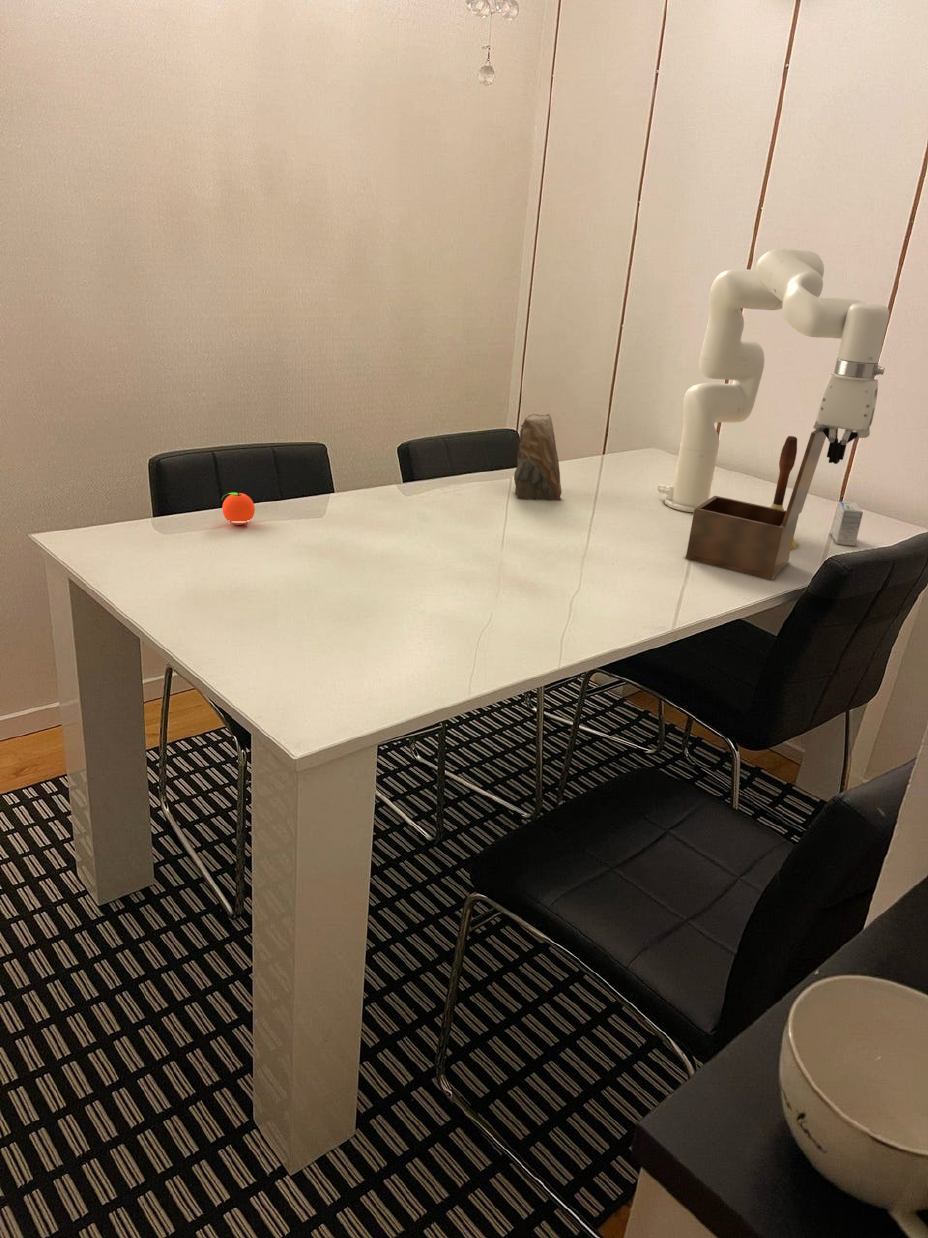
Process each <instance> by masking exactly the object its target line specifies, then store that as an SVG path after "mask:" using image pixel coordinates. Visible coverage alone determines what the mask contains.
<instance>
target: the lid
mask: <svg viewBox="0 0 928 1238" xmlns="http://www.w3.org/2000/svg"><path fill="white" fill-rule="evenodd" d="M827 427H829V426H827ZM826 438H827V437H826V435H825V434H824V433H823V432H822V429H821V428H818V429H814V430H813V431H811V433H810V435H809V439H808V441H807V444H806V448H805V452H804V455H803V457H802V460H801V464H800V467H799V470H798V472H797V476H796V479H795V483H794V485H793V488H792V491H791V495H790V497H789V501H788V505H787V508H786V510H785V511H786V514H785V517H784V520H783V523H782V526H784V527H786V526H787V525H788V524H789V523H790V522H791V521H792V520H793V519H794V518H795V517H797V516H798V515H799V516H800V514H801V513H802V512H803V508H804V505H805V503H806V500H807V496H808V493H809V491H810V487H811V485H812V481H813V478H814V475H815V472H816V469H817V466H818V463H819V459H820V456H821V454H822V451H823V448H824V445H825V441H826ZM799 516H798V517H799Z"/></svg>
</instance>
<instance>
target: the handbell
mask: <svg viewBox="0 0 928 1238" xmlns="http://www.w3.org/2000/svg"><path fill="white" fill-rule="evenodd" d="M797 453H798V437H796V436H793V435H788V436H787V437H786V439H785V441H784V444H783V446H782V449H781V451H780V456H779V461H778V462H779V463H778V466H779V473H778V478H777V483H776V488H775V493H774V498H773V503H772V504H771V506H770V508H775V509H779V510H784V511H785V508H784V500H785V495H786V491H787V487H788V482H789V477H790V475H791V472H792V471H793V468H794V466H795V463H796V458H797ZM796 548H797V541H796V540H795V539H794V538H793V543H792V547H791V550H792V549H793V550H794V549H796Z"/></svg>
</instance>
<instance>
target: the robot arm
mask: <svg viewBox="0 0 928 1238" xmlns="http://www.w3.org/2000/svg"><path fill="white" fill-rule="evenodd" d="M824 273H825V264H824V262H823V259H822V258H821V256H820V255H818V254H817V253H816V252H814V251H811V250H801V249H789V248H788V249H787V248H774V249H771V250H769V251H767V252H765V253H763V255H761V256H760V257H759V259H758V260H757V262H756V265H755V269H748V268H747V269H746V268H735V269H728V270H724V271H722V272H720V273H719V274H718V275H717V276H716V277H715V278H714V280H713V282H712V284H711V287H710V291H709V297H708V318H707V319H708V320H707V324H706V329H705V332H704V337H703V342H702V347H701V350H700V356H699V360H698V361H699V362H698V370H699V371H698V372H699V373H700V375H701V376H703V377H704V378H707V379H711V380H726V381H729V380H730V381H732V383H717V382H702V383H697V384H693V385H692V386H690V387H689V388H688V389H687V390H686V392H685V394H684V396H683V403H682V404H683V405H682V406H683V407H682V408H683V409H682V410H683V423H682V430H681V431H682V433H681V437H680V445H679V451H678V457H677V463H676V468H675V475H674V480H673V484H671V485H667V484H663V483H658V486H657V491H658V493H660V494H665V495H667V496H666V497H665V498H664V504H665V505H666V506H667V507H669V508H670V509H675V510H677V511H681V512H688V513H694V509H695V508H696V507H698V506H700V505H701V504H703V503H704V502H706V501H707V500H709V499H710V498H711V497H710V495H711V491H712V485H713V480H714V474H715V469H716V465H717V460H718V459H717V458H718V453H719V447H720V436H719V434H718V431H717V430H716V429H717V428H716V427H715V423H716V424H717V423H732V424H733V423H741V422H745V421H746V420H747V419H748V418H749V417H750V416H751V414H752V411H753V409H754V407H755V403H756V398H757V395H758V392H759V387H760V383H761V380H762V377H763V372H764V368H765V353H764V349H763V347H762V346H761V345H760V343H758V342H756V341H754V340H749V339H742V336H743V331H744V328H745V319H744V315H743V312H742V310H741V309H748V310H764V311H778V310H779V311H780V310H782V314H783V317H784V318H783V319H784V320H785V322H786V323H787V324H788V325H790V326H791V327H792V328H793V329H794V330H796V331H797V332H799V333H800V334H802V335H804V336H806V337H809V338H810V337H811V338H822V339H823V338H824V339H825V338H826V339H829V338H830V339H839V340H840V343H839V348H838V353H837V358H836V361H835V366H834V371H833V373H831V374H829V376H828V379H827V380H826V383H825V386H824V389H823V392H822V395H821V398H820V400H819V401H820V402H819V405H818V409H817V413H816V419H815V421H814V424H813V429H814V430H816V429H818V428H821V429H822V432H823V433H824V434H825V435H826V438H827V440H828V442H829V444H828V449H827V454H826V458H828V463H829V464H834V465H837V464H839V463H840V461H843V460H844V458H845V457H844V456H845V453H846V448H847V444H849V443H850V442H851V441H853V440H855V439H865V438H868V437H870V435H871V430H870V427H871V426H872V423H873V419H874V415H875V410H876V404H877V399H878V398H877V397H878V393H879V392H878V390H879V379H876V378H875V377H876V376H881V375H882V376H883V375H884V373H885V367H882V366H880V365H879V360H880V356H881V352H882V347H883V345H884V340H885V336H886V331H887V327H888V322H889V319H890V310H889V308H888V307H887V306H885V305H883V304H877V303H867V302H866V301H864V300H860V299H852V298H849V299H848V298H840V297H839V298H836V297H821V296H820V295H821V294H822V292H823V288H824V282H823V278H824ZM827 426H829V427H827ZM839 429H840V430H841V429H842V430H844V432H843V434H842V437H841V439H840V440H839V437H838V436H839V435H838V434H839Z"/></svg>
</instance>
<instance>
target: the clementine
mask: <svg viewBox="0 0 928 1238" xmlns="http://www.w3.org/2000/svg"><path fill="white" fill-rule="evenodd" d="M227 495H228V496H227ZM225 496H227V497H226V498H225V499H224V501H223V498H224V497H225ZM220 501H223V503H222V507H221V508H222V514H223V516H224V518H225V519H226V520H227V519H228V520H230V521H247V520H250V519H251V520H252V519H253V518H254V516H255V512H256V508H255V503H254V501H253V499H252V498H251V497H250V496H248V495H247V494H245V493H242V492H228V493H225V494H224V495H223V496H222V497H221V500H220ZM228 520H227V521H228ZM251 520H250V521H251ZM230 523H231V524H233V525H237V526H242V525H246V524H247V523H248V522H246V523H232V522H230Z"/></svg>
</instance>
